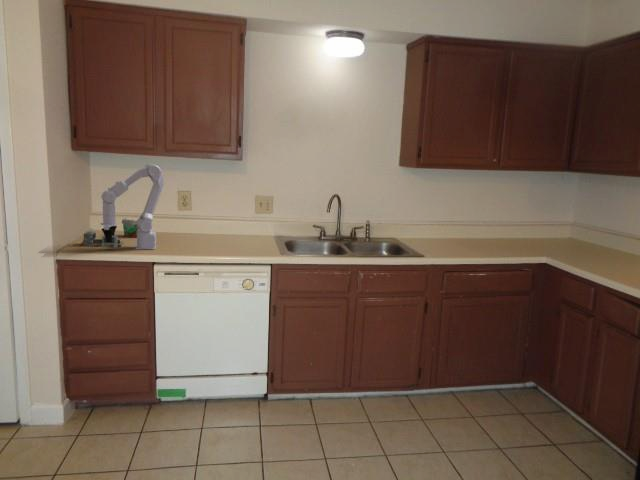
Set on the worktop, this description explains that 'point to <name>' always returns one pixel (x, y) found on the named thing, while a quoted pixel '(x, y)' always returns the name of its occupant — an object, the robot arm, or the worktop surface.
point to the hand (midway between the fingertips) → (109, 241)
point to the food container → (130, 228)
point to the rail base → (95, 240)
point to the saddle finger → (114, 241)
